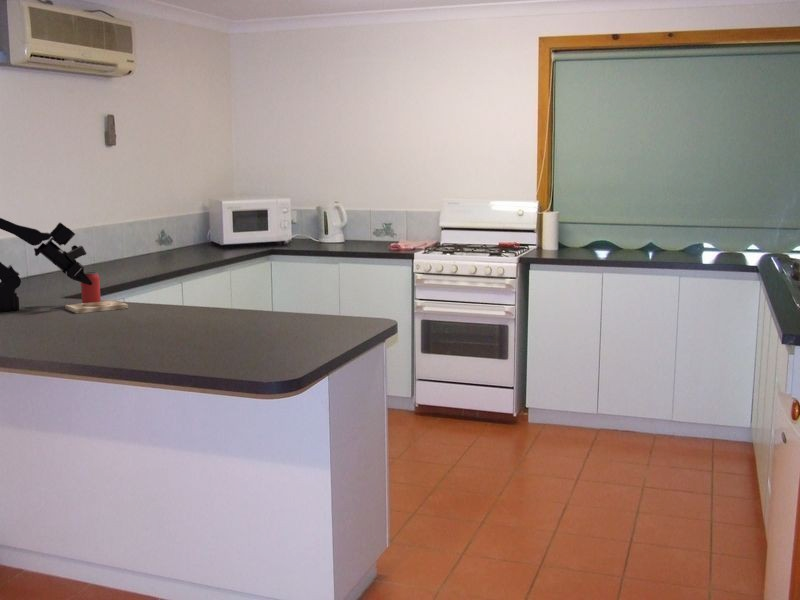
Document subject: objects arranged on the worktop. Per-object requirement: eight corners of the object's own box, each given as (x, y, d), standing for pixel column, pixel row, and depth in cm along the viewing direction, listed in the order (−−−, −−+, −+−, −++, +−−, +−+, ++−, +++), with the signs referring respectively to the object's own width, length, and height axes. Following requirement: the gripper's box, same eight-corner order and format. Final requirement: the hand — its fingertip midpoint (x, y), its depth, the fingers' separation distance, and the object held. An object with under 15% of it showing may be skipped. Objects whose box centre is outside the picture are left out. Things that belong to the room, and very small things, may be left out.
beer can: (78, 305, 313) (76, 273, 311) (92, 302, 318) (90, 271, 317) (91, 306, 310) (89, 273, 308) (104, 304, 315) (103, 272, 314)
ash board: (76, 313, 293) (76, 308, 293) (65, 309, 303) (65, 304, 303) (127, 308, 304) (127, 303, 304) (115, 304, 314) (115, 299, 314)
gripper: (74, 240, 300) (109, 269, 306) (68, 237, 316) (101, 264, 323) (52, 263, 297) (87, 292, 304) (47, 259, 314) (80, 286, 320)
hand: (89, 283), depth 313 cm, fingers open, 9 cm apart
